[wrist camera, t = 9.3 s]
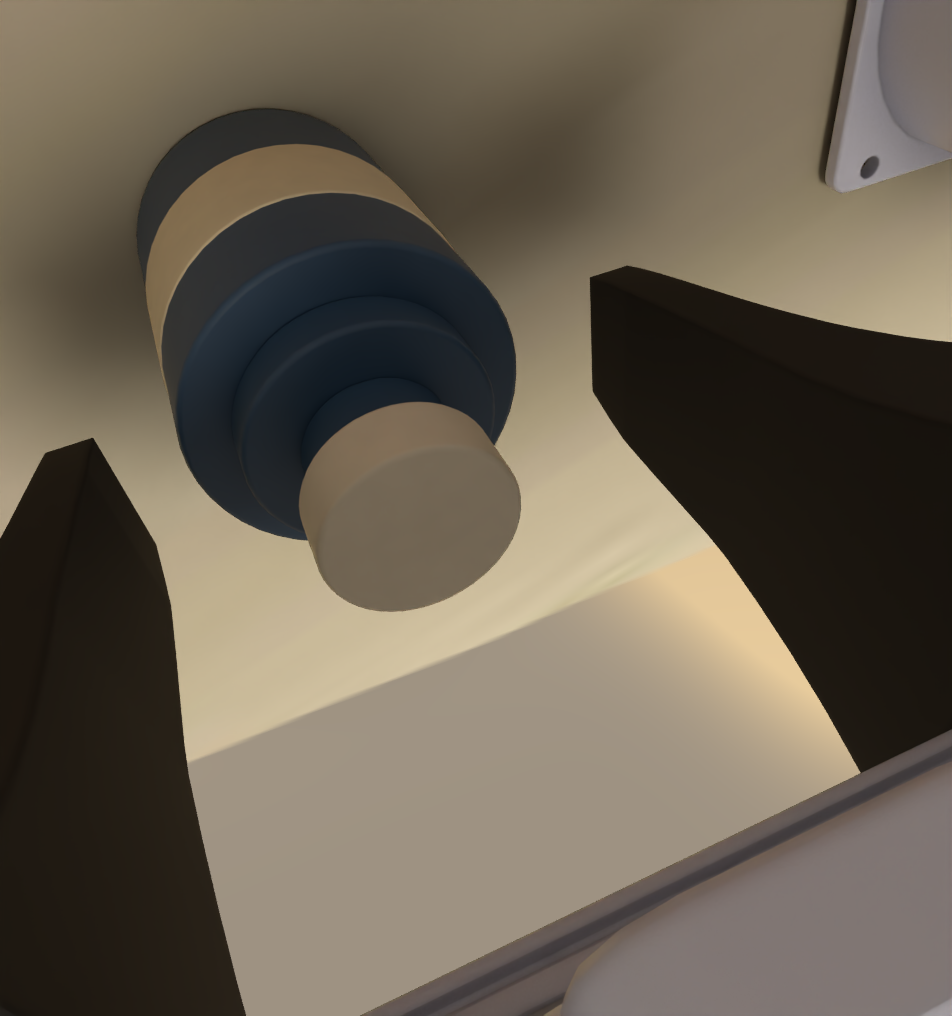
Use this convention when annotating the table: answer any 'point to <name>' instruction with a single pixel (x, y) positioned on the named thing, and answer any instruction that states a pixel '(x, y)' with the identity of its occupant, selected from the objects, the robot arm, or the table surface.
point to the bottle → (329, 358)
